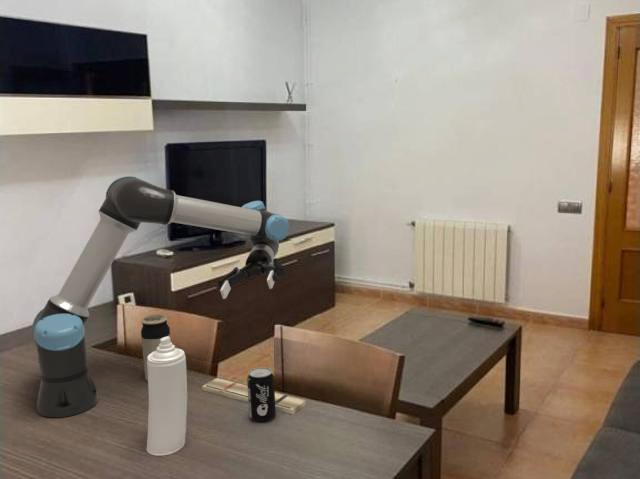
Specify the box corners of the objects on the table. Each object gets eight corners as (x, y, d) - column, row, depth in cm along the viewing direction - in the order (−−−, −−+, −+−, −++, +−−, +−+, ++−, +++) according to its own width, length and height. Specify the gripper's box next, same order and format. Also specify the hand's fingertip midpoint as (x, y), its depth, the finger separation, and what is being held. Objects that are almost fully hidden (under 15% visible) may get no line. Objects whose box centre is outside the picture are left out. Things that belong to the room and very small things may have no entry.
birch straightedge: (292, 414, 155) (292, 409, 154) (202, 390, 170) (202, 385, 170) (305, 404, 160) (305, 400, 159) (216, 381, 175) (216, 377, 175)
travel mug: (139, 378, 179) (134, 319, 175) (162, 369, 185) (157, 312, 181) (156, 385, 174) (150, 325, 170) (179, 376, 180) (174, 317, 176)
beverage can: (281, 416, 154) (279, 370, 152) (261, 426, 149) (259, 379, 147) (263, 408, 159) (261, 364, 156) (243, 417, 154) (241, 372, 151)
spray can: (143, 434, 147) (134, 335, 142) (188, 425, 151) (180, 328, 146) (148, 459, 136) (138, 352, 131) (196, 448, 140) (188, 344, 135)
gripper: (302, 262, 188) (293, 292, 168) (225, 279, 193) (208, 310, 173) (295, 240, 186) (285, 267, 166) (218, 258, 190) (199, 286, 170)
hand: (245, 289), depth 169 cm, fingers open, 13 cm apart
